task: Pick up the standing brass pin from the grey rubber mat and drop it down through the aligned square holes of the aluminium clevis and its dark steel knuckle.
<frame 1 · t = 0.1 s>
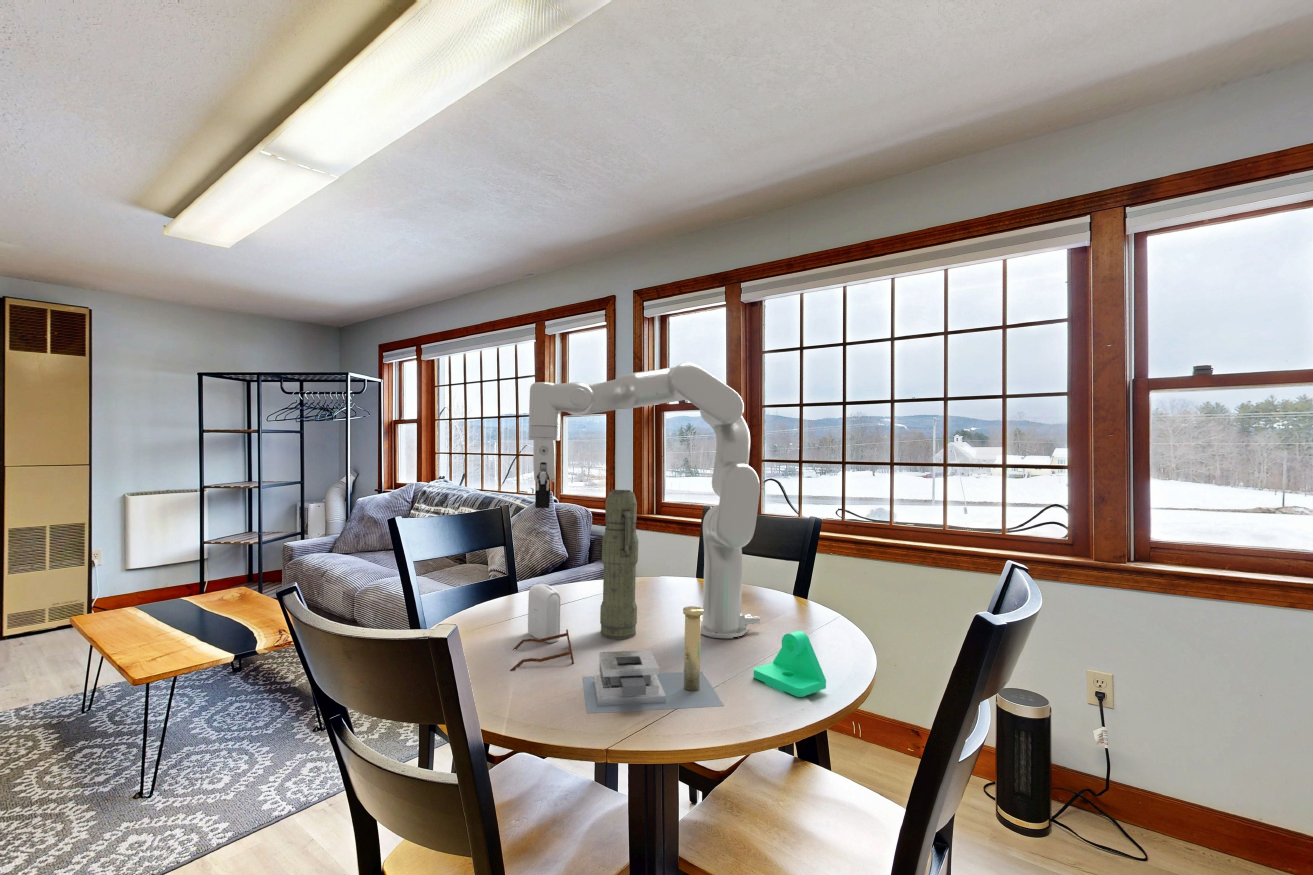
hand: (542, 505, 140), 31 cm above the table, tool pointing down, fingers open, 9 cm apart
thermos: (618, 634, 144), on the table
mat: (649, 693, 109), on the table
camera mount: (787, 688, 113), on the table
glasses: (541, 661, 126), on the table
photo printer: (543, 637, 140), on the table
pin: (691, 688, 110), point 1 cm above the table, touching mat
clevis: (628, 691, 108), resting on mat
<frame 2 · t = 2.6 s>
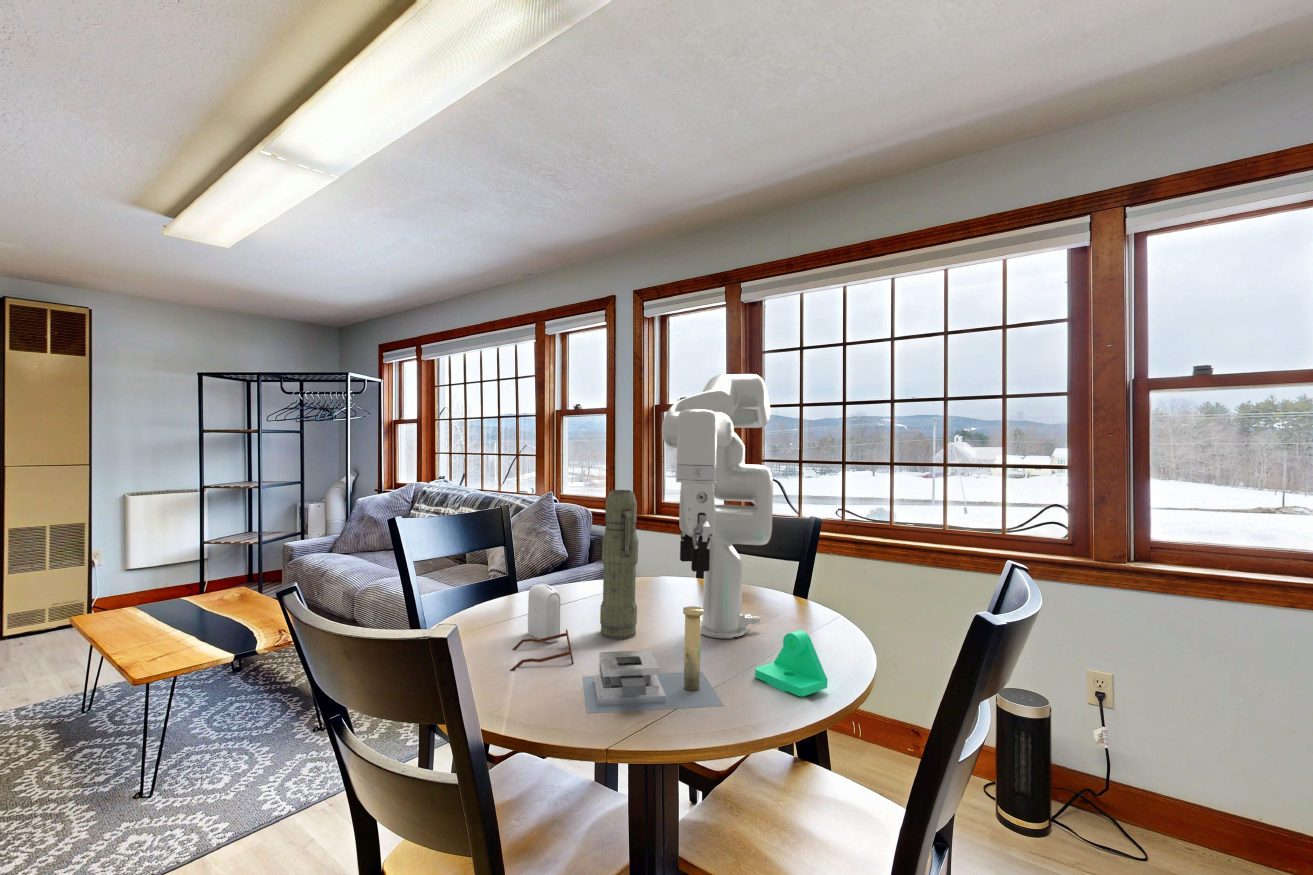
hand: (693, 565, 110), 24 cm above the table, tool pointing down, fingers open, 9 cm apart
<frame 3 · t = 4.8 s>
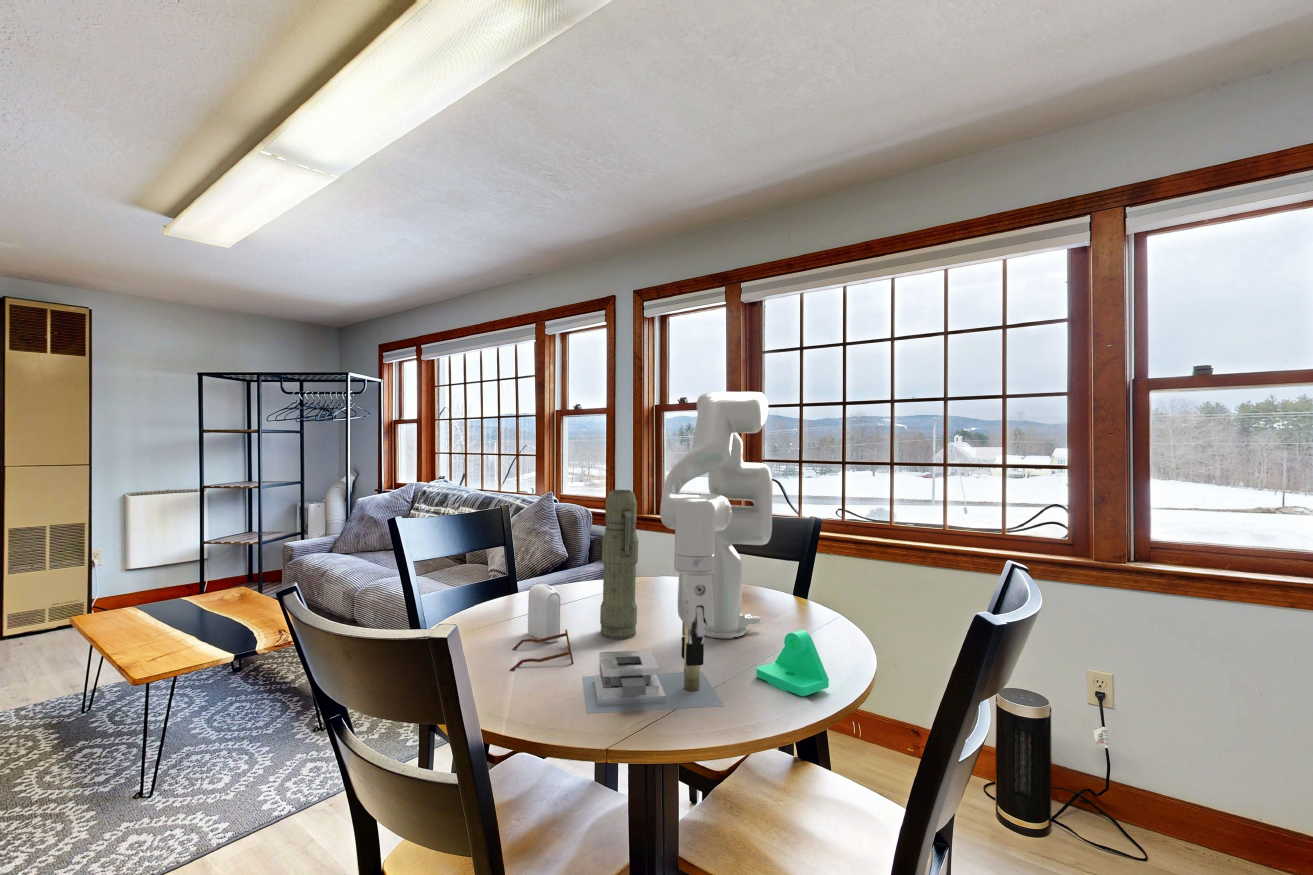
hand: (692, 660, 110), 6 cm above the table, tool pointing down, fingers closed on pin, 3 cm apart
pin: (691, 688, 110), point 1 cm above the table, touching gripper, mat
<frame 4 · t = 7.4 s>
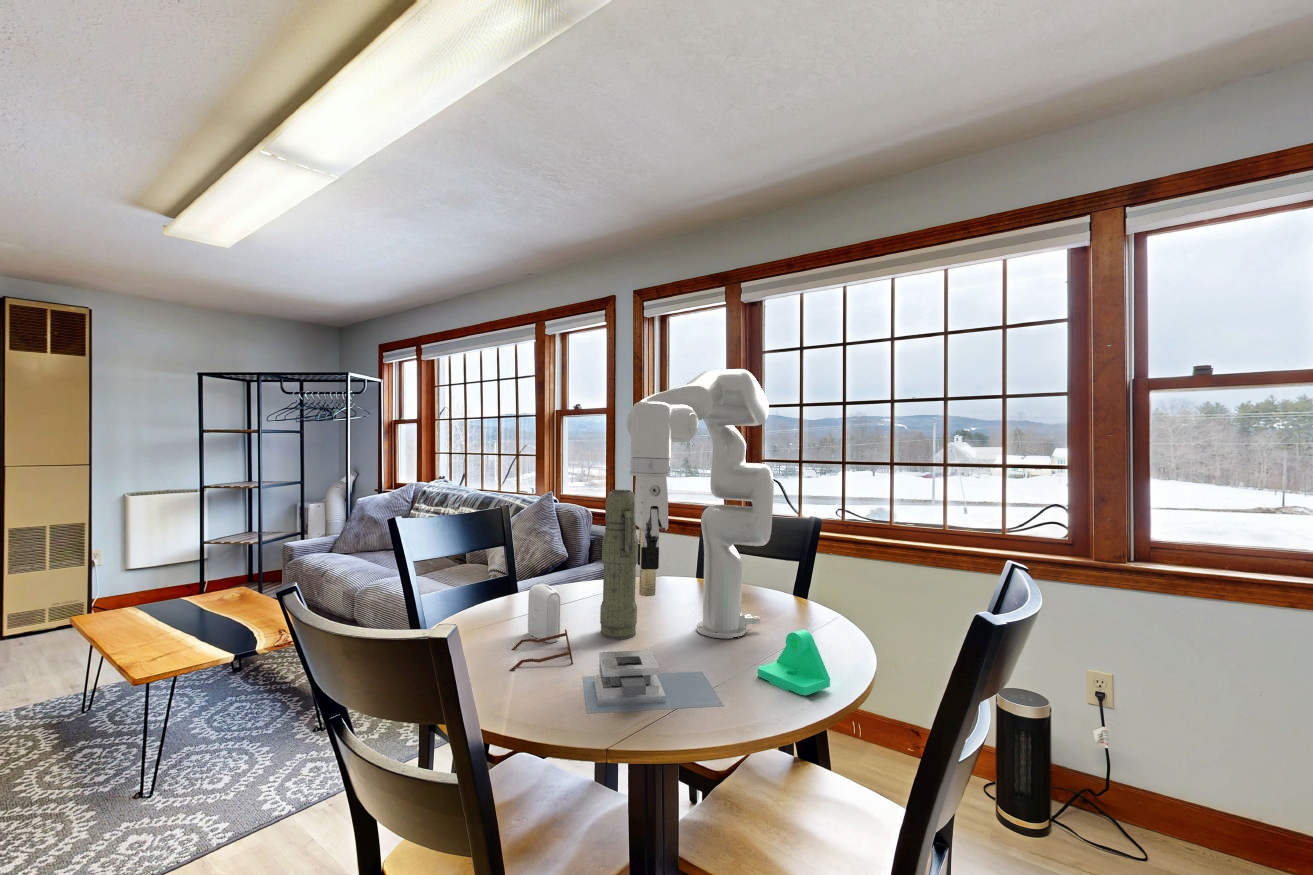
hand: (647, 566, 109), 24 cm above the table, tool pointing down, fingers closed on pin, 3 cm apart
pin: (647, 594, 109), point 18 cm above the table, touching gripper
when the fingers open (8 cm above the table, at t = 9.9 s): pin drops 1 cm, resting on clevis.
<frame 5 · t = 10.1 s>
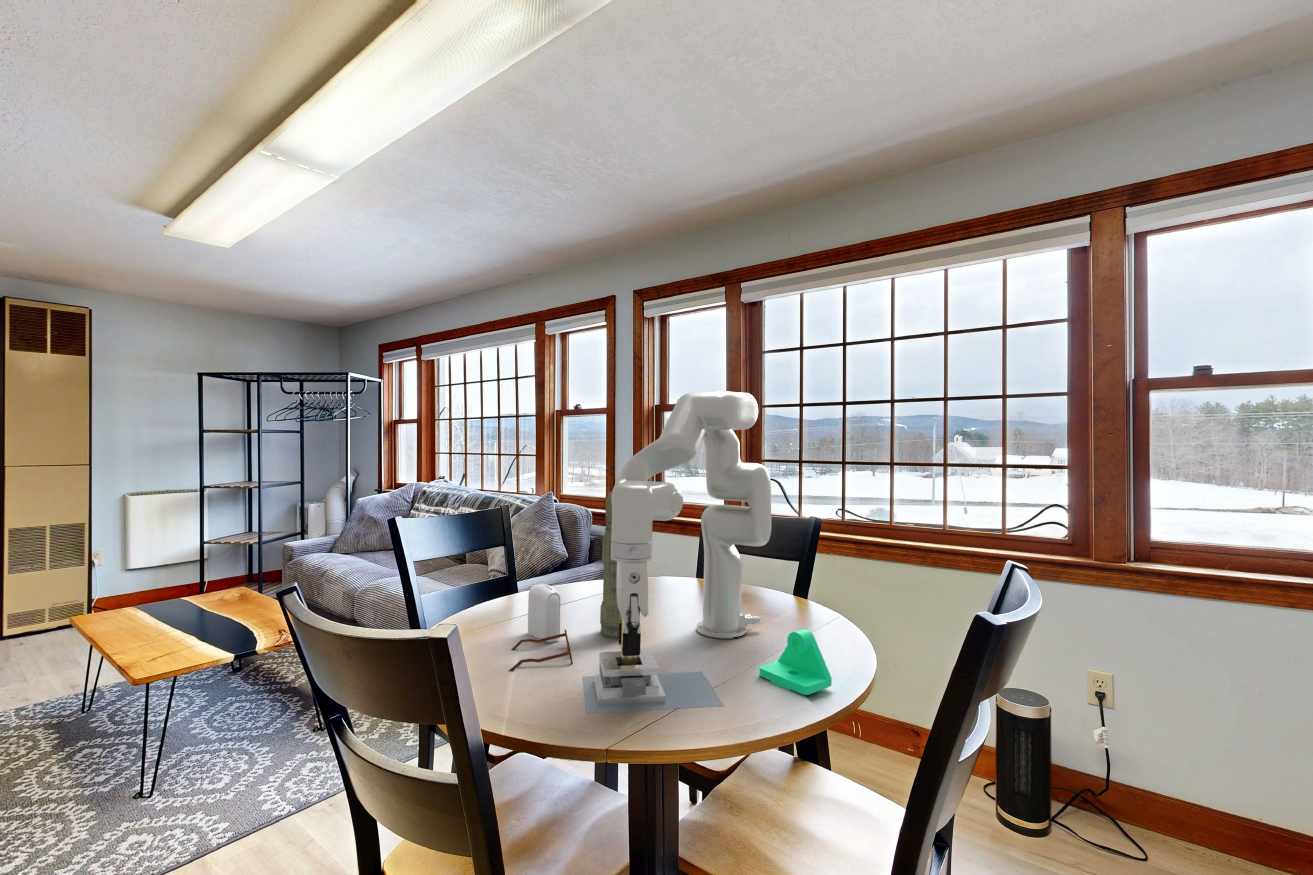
hand: (629, 648, 108), 8 cm above the table, tool pointing down, fingers open, 5 cm apart
pin: (628, 684, 108), point 2 cm above the table, touching clevis
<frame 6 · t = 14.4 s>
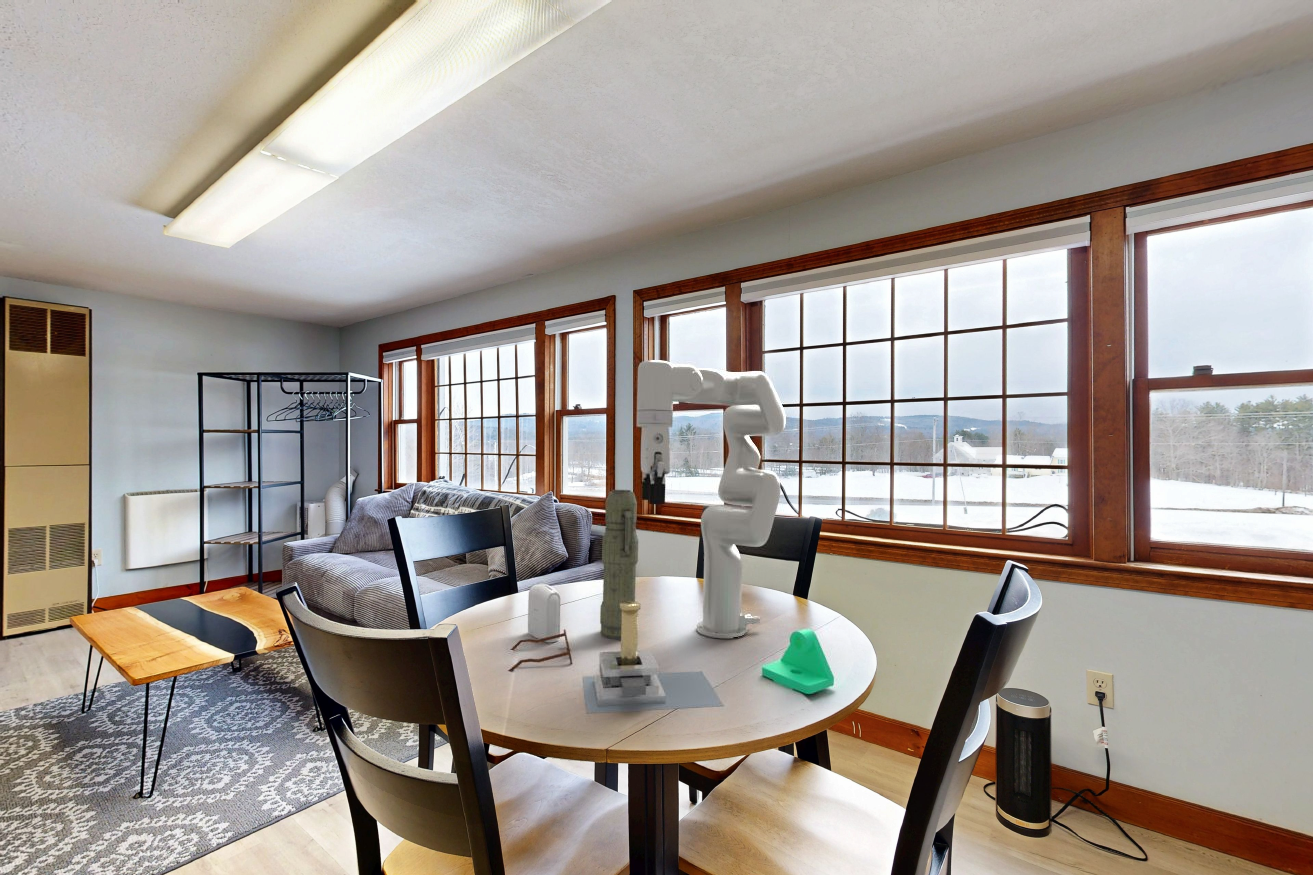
hand: (652, 501, 123), 34 cm above the table, tool pointing down, fingers open, 9 cm apart
at the end: pin 0.1 cm off-centre on the clevis, point 1.2 cm above the clevis's base; pin tilted 0°; the gripper is holding nothing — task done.
